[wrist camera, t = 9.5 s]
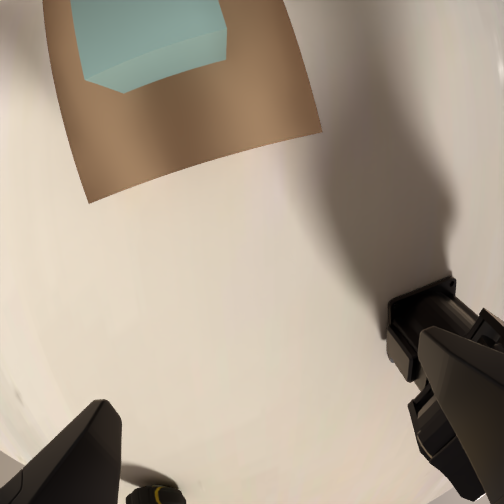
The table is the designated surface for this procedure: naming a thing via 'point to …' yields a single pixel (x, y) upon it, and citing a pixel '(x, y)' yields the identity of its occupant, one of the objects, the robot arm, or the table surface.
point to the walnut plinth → (183, 101)
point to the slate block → (146, 39)
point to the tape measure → (156, 495)
